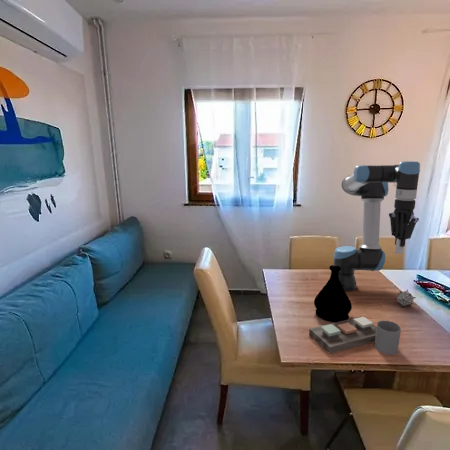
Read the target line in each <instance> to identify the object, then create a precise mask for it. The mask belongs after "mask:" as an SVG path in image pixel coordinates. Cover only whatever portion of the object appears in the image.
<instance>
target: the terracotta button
mask: <svg viewBox="0 0 450 450" xmlns="http://www.w3.org/2000/svg"><path fill="white" fill-rule="evenodd" d="M337 328H339V330H340V331H342V332H343V333H344V334H346V335H348V334H352V333H355V332H357V329H356V328H355V327H354V326H352V325H351V324H349V323H344V324H339V325H337Z"/></svg>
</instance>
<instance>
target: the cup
mask: <svg viewBox="0 0 450 450" xmlns="http://www.w3.org/2000/svg"><path fill="white" fill-rule="evenodd" d="M376 327H377V328H376V337H375V342H374V348H375V349H376V350H377V351H378V352H380V353H382V354H385V355H387V356H389V355H391V356H392V355H393V356H394V355H397V353H398V352H399V345H400V338H401V331H402V330H401V326H400V325H399V324H398V323H395V322H393V321H389V320H378V321H377V322H376Z"/></svg>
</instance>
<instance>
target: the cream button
mask: <svg viewBox="0 0 450 450" xmlns="http://www.w3.org/2000/svg"><path fill="white" fill-rule="evenodd" d="M359 317H360V318H358V317H355V318H356V319H354V320H353V322H355V326H356V327H358V328H359V329H360V330H362V331H364V330H368V329H371V326H373V325H374V322H373V321H371V320H370V319H368V318H366V317H365V316H359Z"/></svg>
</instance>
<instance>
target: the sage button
mask: <svg viewBox="0 0 450 450" xmlns="http://www.w3.org/2000/svg"><path fill="white" fill-rule="evenodd" d="M329 324H330V325H327V324H325V325H326V326H323V325H321V326H322V327H321V330H322V331H323V334H324V335H325V336H326V337H327V338H328V339H332V338H336V337H338V334H341V331H340V330H339V329H338V328H336V327H335V326H334V325H333V324H332V323H329Z"/></svg>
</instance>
